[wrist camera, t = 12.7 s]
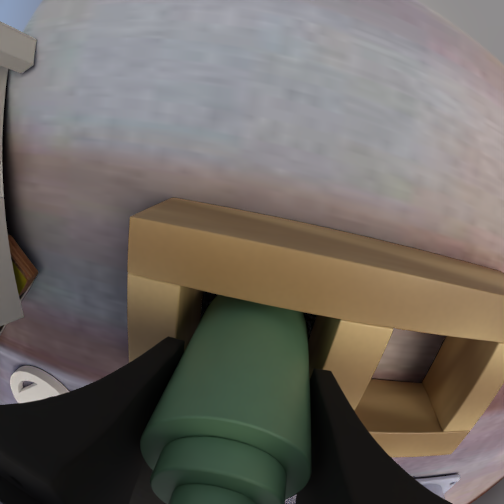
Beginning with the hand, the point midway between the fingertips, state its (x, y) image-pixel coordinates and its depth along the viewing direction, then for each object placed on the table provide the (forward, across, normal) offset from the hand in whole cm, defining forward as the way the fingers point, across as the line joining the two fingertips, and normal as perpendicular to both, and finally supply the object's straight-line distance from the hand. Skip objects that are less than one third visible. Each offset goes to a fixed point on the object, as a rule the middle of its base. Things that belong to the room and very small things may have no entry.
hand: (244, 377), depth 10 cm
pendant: (+3, +16, +14) cm, 22 cm away
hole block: (+5, -4, 0) cm, 6 cm away
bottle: (+3, 0, 0) cm, 3 cm away
